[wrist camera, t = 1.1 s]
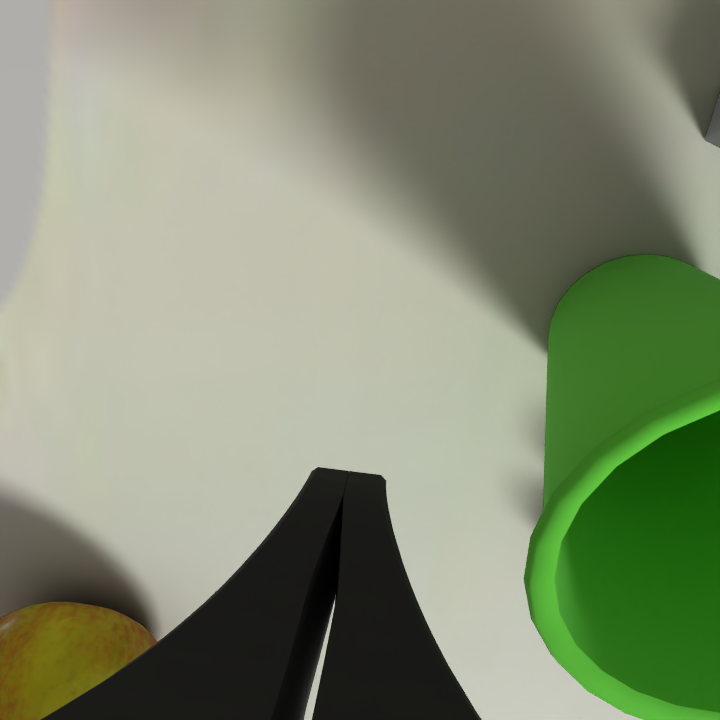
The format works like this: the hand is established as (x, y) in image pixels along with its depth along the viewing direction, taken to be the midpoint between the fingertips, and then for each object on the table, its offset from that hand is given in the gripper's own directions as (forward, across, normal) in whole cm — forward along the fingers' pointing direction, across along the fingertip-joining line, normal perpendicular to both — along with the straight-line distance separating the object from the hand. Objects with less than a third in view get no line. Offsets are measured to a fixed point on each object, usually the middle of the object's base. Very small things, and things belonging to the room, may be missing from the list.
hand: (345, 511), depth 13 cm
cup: (+11, -8, 0) cm, 13 cm away
